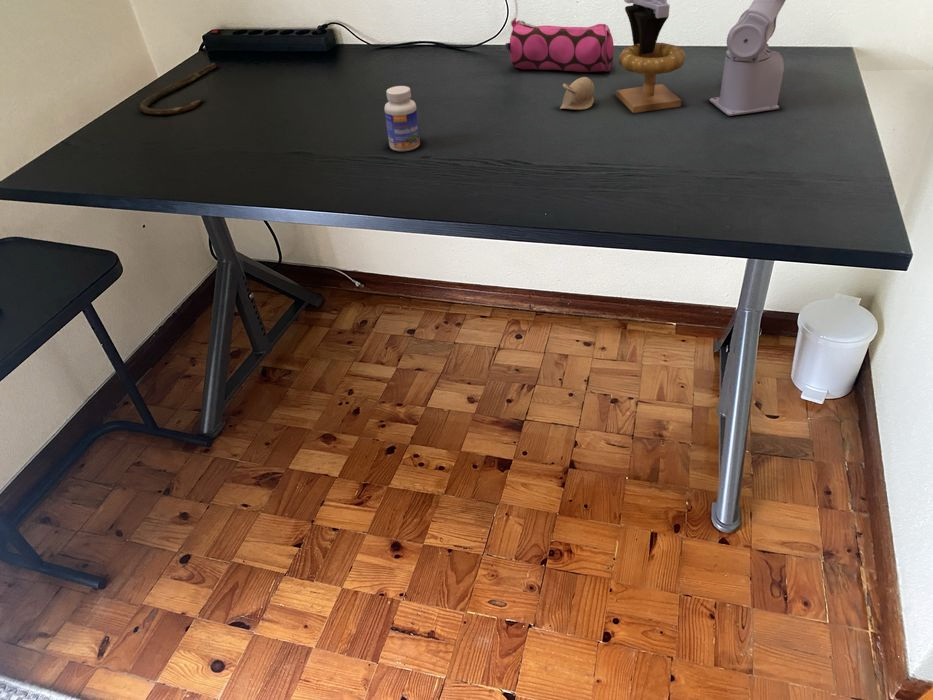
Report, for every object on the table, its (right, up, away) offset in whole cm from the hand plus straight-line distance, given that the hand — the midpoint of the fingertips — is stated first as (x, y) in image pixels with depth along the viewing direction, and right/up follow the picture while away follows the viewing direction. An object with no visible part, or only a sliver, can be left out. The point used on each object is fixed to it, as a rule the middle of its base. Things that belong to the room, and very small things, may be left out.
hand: (643, 50), depth 132 cm
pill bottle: (-43, -19, -5) cm, 47 cm away
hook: (-91, +2, +26) cm, 95 cm away
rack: (+1, -8, +3) cm, 9 cm away
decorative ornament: (-12, -9, +3) cm, 15 cm away
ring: (+1, -3, -3) cm, 4 cm away
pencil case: (-12, +4, +20) cm, 24 cm away
